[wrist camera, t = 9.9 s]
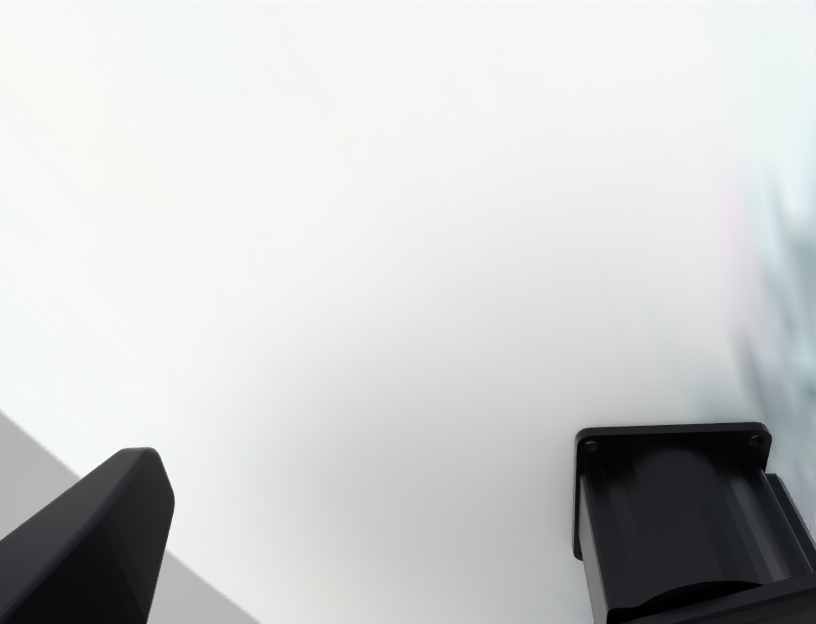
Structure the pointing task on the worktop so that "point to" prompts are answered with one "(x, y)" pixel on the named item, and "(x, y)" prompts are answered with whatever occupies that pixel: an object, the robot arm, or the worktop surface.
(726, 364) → the worktop surface
